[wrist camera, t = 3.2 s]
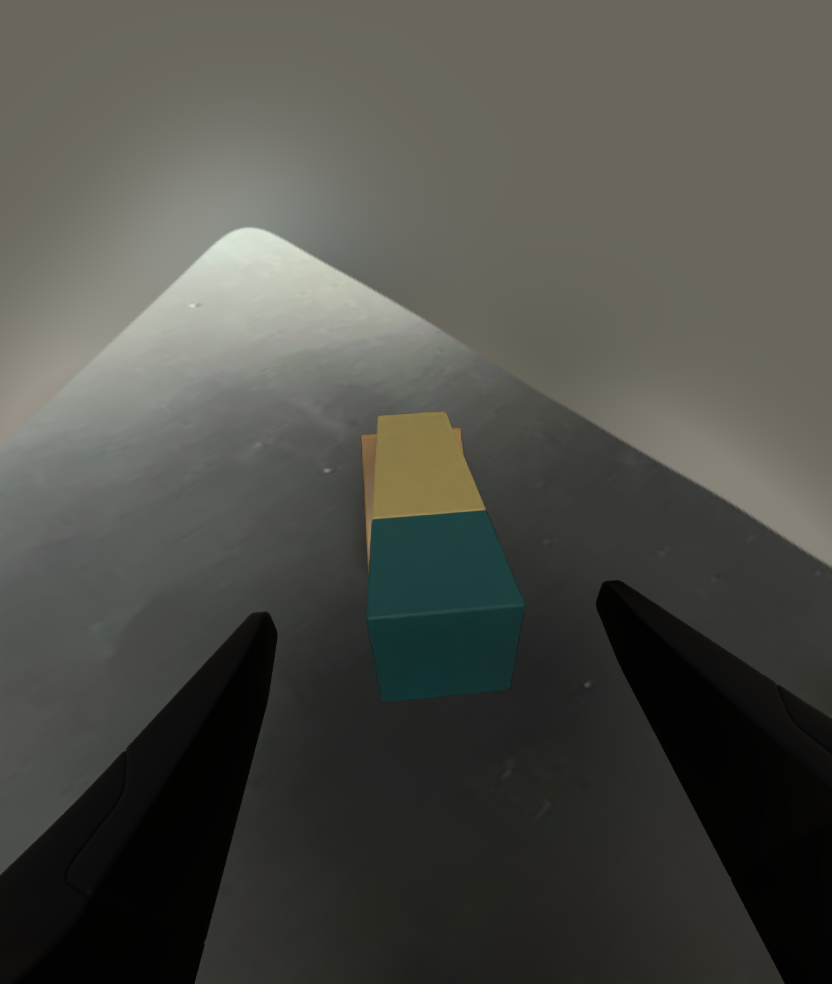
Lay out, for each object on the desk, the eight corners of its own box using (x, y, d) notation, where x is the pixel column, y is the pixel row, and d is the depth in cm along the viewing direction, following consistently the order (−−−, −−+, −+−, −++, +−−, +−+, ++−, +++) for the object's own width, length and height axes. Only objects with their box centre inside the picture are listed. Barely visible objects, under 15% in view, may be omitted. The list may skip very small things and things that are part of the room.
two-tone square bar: (463, 632, 17) (544, 729, 7) (395, 638, 17) (372, 747, 7) (441, 429, 20) (477, 270, 9) (381, 434, 20) (347, 277, 9)
